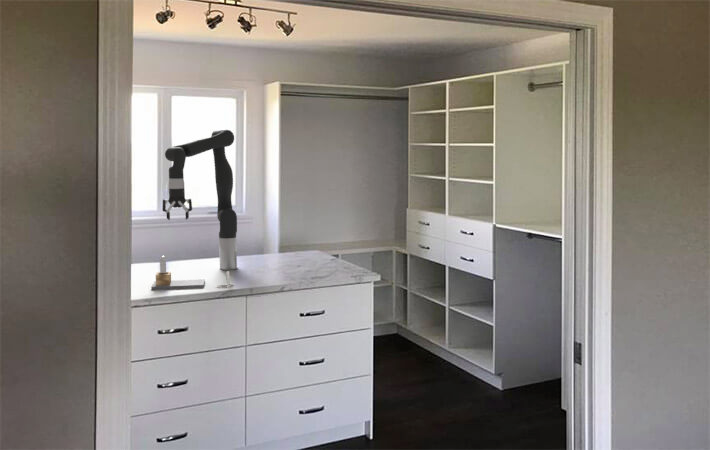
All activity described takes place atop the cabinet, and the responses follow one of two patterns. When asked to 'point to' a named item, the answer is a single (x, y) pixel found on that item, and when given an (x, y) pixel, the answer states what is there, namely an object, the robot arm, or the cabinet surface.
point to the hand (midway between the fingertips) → (177, 219)
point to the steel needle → (162, 265)
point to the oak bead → (163, 278)
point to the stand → (227, 282)
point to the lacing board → (180, 284)
